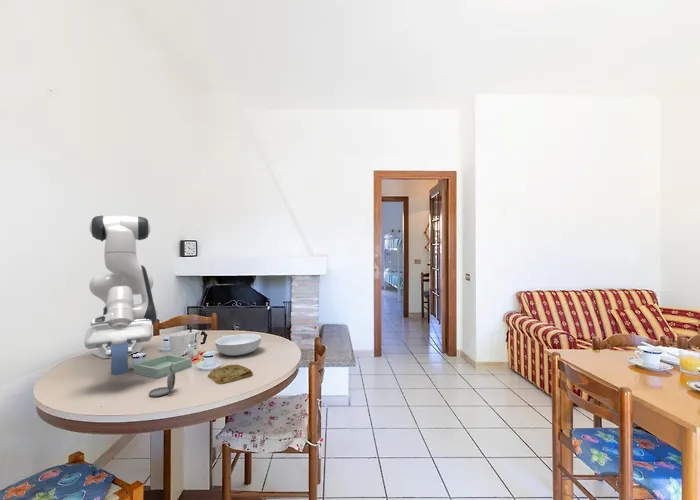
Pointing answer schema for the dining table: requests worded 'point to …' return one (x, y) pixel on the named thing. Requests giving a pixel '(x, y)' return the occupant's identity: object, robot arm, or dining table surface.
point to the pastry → (229, 374)
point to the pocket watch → (167, 389)
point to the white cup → (178, 343)
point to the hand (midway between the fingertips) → (119, 354)
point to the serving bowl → (238, 344)
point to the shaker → (119, 356)
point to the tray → (162, 366)
